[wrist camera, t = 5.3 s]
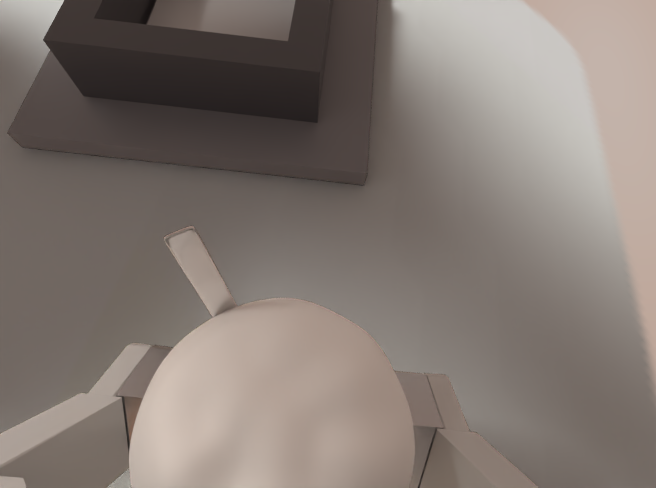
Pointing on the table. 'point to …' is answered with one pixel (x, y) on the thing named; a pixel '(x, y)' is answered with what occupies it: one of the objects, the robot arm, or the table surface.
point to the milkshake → (269, 397)
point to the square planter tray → (209, 85)
